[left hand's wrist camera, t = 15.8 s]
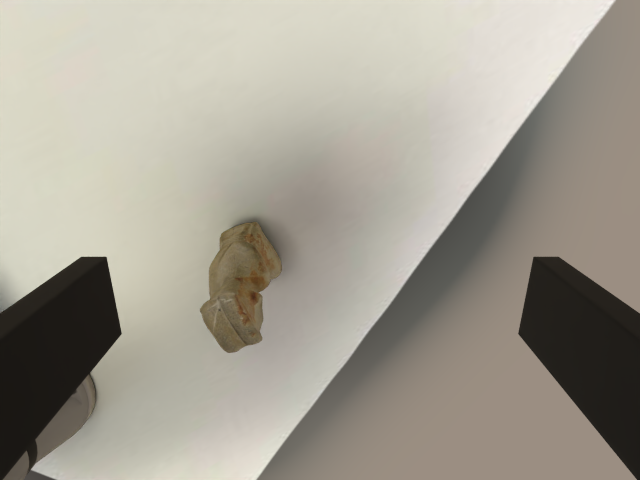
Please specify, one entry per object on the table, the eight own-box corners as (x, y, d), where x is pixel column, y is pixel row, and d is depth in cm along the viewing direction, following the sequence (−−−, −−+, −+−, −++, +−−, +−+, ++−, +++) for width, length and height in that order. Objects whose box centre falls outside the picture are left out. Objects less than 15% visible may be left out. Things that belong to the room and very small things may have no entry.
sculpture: (243, 283, 46) (209, 367, 32) (216, 226, 44) (167, 291, 30) (290, 267, 45) (277, 346, 31) (266, 209, 43) (240, 266, 29)
